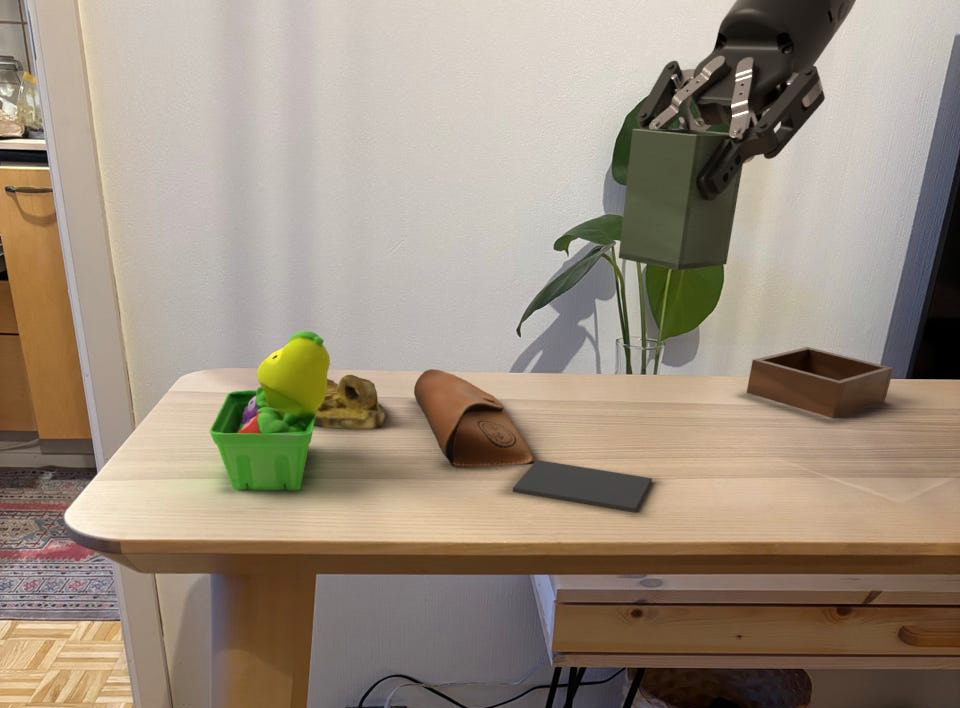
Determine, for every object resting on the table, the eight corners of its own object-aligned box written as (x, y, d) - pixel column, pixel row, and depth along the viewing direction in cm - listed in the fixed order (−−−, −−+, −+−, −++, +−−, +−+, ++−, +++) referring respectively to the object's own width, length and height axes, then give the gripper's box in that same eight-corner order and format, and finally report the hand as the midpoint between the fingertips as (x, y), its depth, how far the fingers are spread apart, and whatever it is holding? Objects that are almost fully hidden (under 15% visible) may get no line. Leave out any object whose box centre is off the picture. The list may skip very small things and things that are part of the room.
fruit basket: (233, 447, 83) (221, 313, 77) (336, 448, 84) (332, 316, 78) (214, 497, 73) (198, 348, 67) (330, 498, 74) (325, 351, 68)
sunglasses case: (542, 460, 82) (507, 394, 78) (471, 502, 82) (434, 439, 79) (495, 398, 97) (464, 341, 93) (435, 434, 98) (402, 378, 94)
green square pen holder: (667, 252, 79) (683, 128, 74) (726, 264, 75) (748, 134, 70) (618, 258, 75) (632, 128, 71) (677, 270, 71) (696, 135, 67)
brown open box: (799, 384, 109) (807, 346, 107) (883, 407, 102) (893, 368, 100) (745, 398, 103) (752, 359, 100) (831, 424, 96) (840, 383, 94)
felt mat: (651, 484, 80) (652, 477, 79) (635, 515, 74) (636, 508, 74) (536, 466, 82) (536, 459, 82) (512, 494, 76) (512, 487, 76)
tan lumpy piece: (238, 414, 94) (347, 449, 86) (229, 367, 91) (340, 399, 83) (307, 385, 100) (415, 415, 92) (300, 340, 97) (411, 367, 89)
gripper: (699, -35, 74) (577, 139, 73) (869, -43, 65) (731, 156, 64) (729, 50, 79) (616, 211, 79) (888, 53, 70) (762, 236, 70)
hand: (668, 186), depth 71 cm, fingers closed on green square pen holder, 6 cm apart
